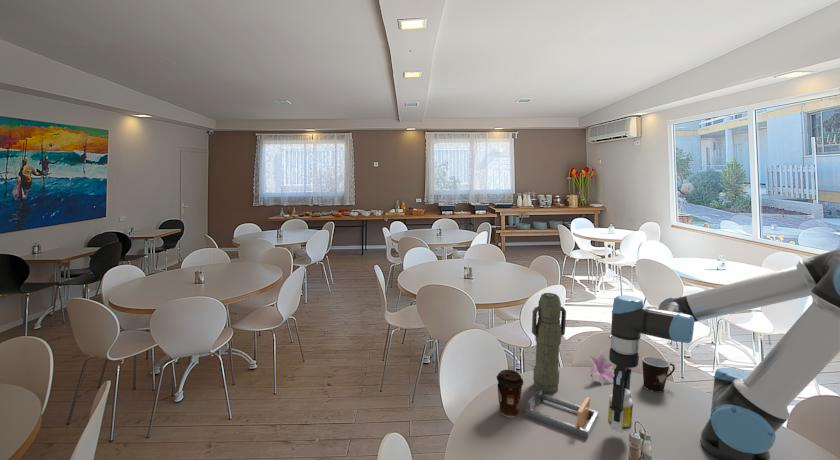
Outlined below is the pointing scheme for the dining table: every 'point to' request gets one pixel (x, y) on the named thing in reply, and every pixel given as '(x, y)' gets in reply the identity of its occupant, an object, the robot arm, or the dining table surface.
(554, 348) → the thermos
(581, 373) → the dining table surface
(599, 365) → the lily
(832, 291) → the robot arm
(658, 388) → the coffee mug
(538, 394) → the lane
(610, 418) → the pill bottle
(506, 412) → the coffee cup
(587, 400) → the pusher
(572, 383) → the dining table surface
